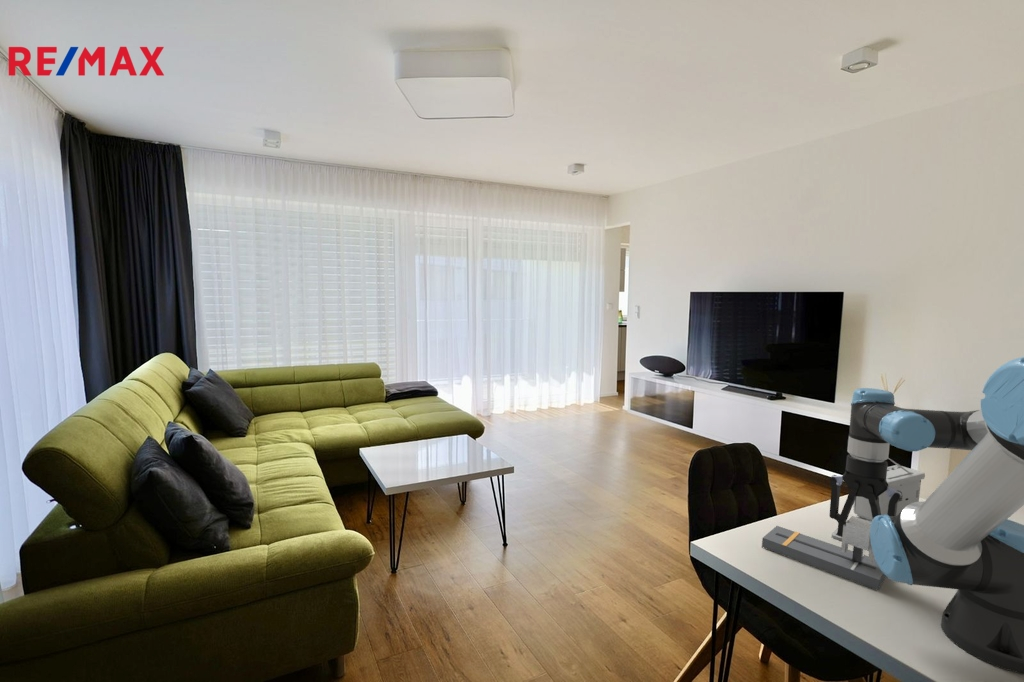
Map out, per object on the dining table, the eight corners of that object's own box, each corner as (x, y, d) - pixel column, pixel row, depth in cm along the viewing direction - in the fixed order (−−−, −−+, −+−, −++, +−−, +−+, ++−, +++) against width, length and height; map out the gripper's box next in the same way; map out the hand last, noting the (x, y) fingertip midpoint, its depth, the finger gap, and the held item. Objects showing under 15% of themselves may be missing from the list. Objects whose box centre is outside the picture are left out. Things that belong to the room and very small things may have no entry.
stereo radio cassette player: (891, 504, 152) (897, 441, 150) (922, 515, 145) (929, 449, 143) (850, 515, 143) (856, 449, 141) (881, 528, 136) (888, 458, 134)
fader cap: (871, 560, 113) (875, 522, 112) (866, 568, 110) (870, 529, 109) (848, 553, 116) (852, 515, 115) (842, 560, 113) (846, 522, 112)
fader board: (887, 573, 113) (888, 562, 113) (878, 590, 106) (879, 579, 106) (776, 534, 130) (776, 525, 130) (761, 547, 123) (762, 537, 123)
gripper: (919, 463, 107) (909, 565, 109) (827, 444, 119) (819, 535, 122) (914, 471, 102) (902, 578, 104) (817, 450, 114) (809, 545, 117)
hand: (857, 554), depth 113 cm, fingers closed on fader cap, 4 cm apart
